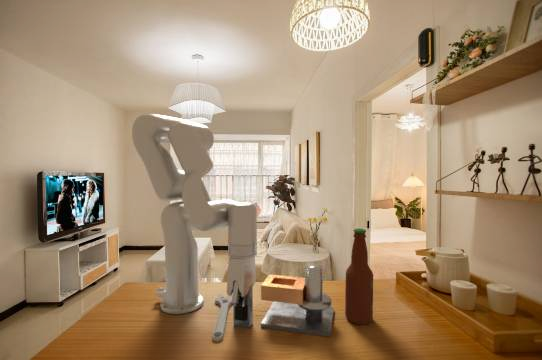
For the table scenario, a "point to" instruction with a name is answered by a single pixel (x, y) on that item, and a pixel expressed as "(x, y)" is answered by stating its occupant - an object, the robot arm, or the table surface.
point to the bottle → (359, 283)
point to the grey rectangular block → (249, 311)
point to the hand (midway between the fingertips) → (243, 316)
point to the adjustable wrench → (221, 316)
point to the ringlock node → (298, 303)
